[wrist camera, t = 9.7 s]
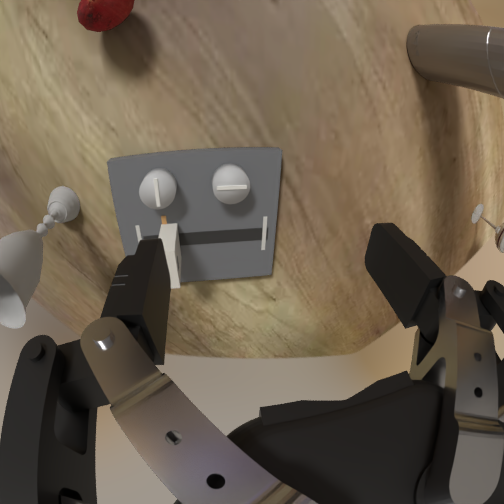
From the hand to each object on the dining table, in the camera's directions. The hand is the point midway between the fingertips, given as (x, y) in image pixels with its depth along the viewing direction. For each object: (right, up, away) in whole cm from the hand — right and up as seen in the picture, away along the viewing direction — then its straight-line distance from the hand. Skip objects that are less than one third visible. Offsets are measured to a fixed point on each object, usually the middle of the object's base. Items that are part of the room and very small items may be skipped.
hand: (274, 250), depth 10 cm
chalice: (-25, +6, +19) cm, 32 cm away
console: (-8, +4, +24) cm, 26 cm away
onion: (-16, +26, +8) cm, 31 cm away
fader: (-11, +1, +23) cm, 26 cm away
